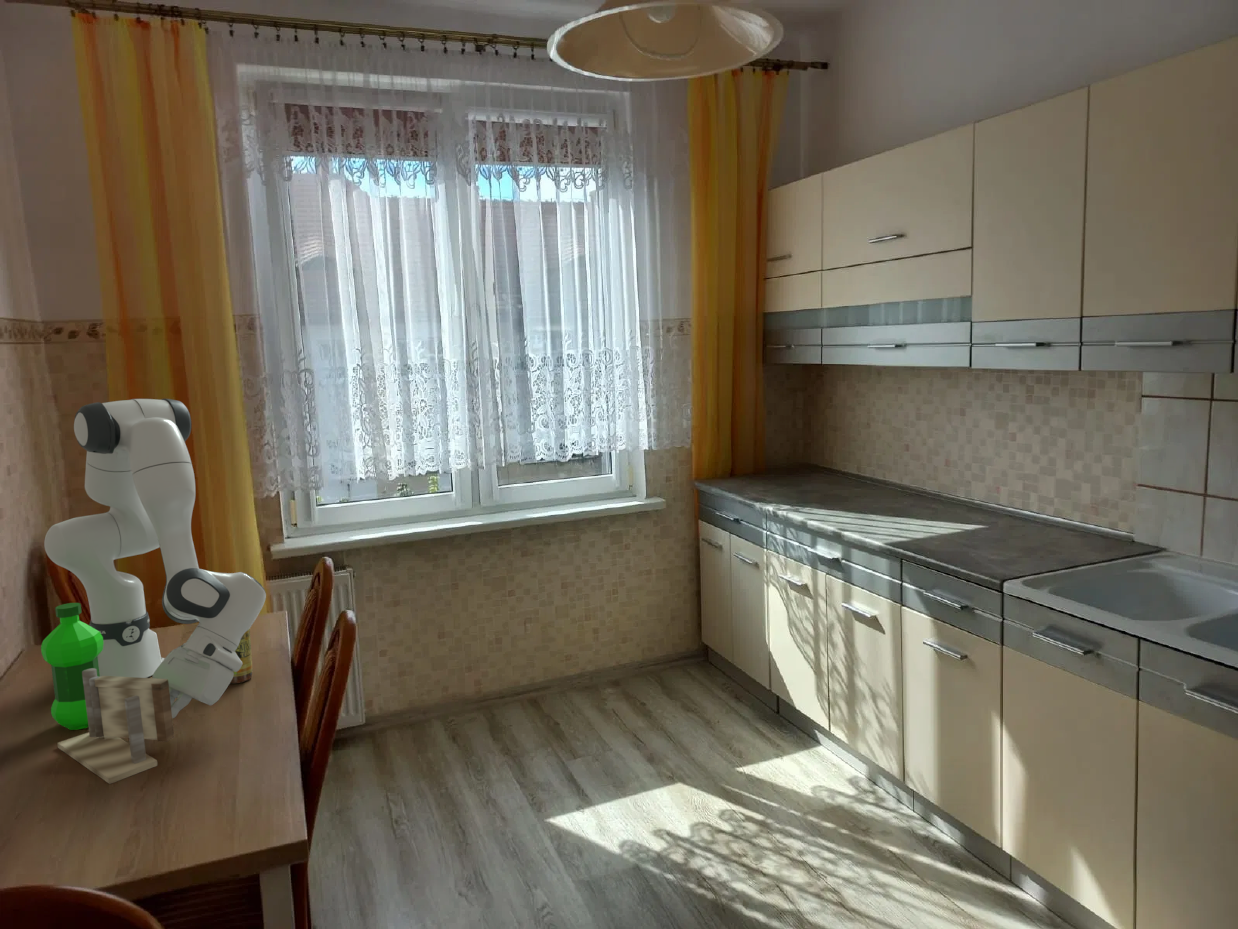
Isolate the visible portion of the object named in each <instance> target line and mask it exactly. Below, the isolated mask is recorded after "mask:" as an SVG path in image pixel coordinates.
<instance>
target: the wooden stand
mask: <svg viewBox="0 0 1238 929" xmlns="http://www.w3.org/2000/svg"><path fill="white" fill-rule="evenodd" d="M82 677H83V685H84V693H85V702H86V710H87V718H88V726H89V727H88V732H85V733H82V734H80V735H77V736H73V737H71V738H68V739H65V740H61V741H59V742H57V748H58V749H59V750H60V751H62V752H64V753H65V754H66V755H68V756H69V757H71V758H72V759H73V760H74V761H77V763H80V765H82V766H83V767H85V768H87V770H89V771H90V772H92V773H94V775H96V776H97V777H99V778H100V779H102V780H103V781H105V782H106V783H107V784H109V785H110V784H114V783H116V782H119V781H121V780H124V779H127V778H129V777H131V776H135V775H137V774H140V773H142V772H144V771H147V770H150V769H152V768H155V767H157V766H158V760H157V759H156V758H154V757H153V756H150V755H149V754H147V753H146V744H145V739H144V735H143V726H142V717H141V708H140V699H139V696H137V695H136V696H133V697H129V698H126V699H125V707H126V716H127V725H128V734H129V738H128V740H129V741H126V740H124V739H123V738H122V737H111V736H103V737H96V733H95V725H94V716H93V708H92V700H91V691H90V683H89V679H90V678H93V677H97V669H95V668H91V669H86V670H84V671H82Z"/></svg>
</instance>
